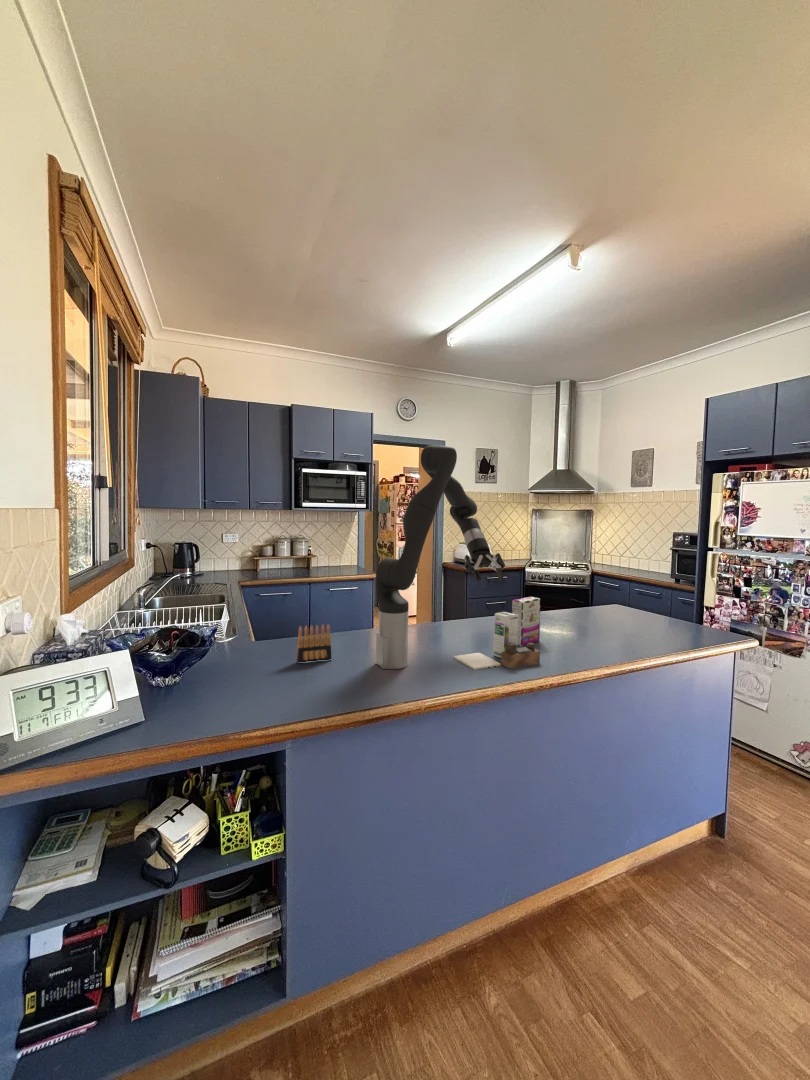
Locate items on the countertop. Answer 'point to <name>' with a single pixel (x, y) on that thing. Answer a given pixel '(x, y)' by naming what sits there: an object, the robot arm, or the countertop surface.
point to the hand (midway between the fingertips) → (490, 580)
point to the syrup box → (504, 631)
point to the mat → (477, 661)
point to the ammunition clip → (314, 644)
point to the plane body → (520, 655)
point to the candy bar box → (527, 619)
